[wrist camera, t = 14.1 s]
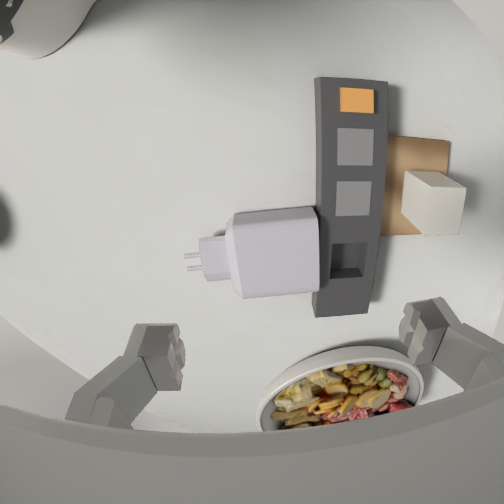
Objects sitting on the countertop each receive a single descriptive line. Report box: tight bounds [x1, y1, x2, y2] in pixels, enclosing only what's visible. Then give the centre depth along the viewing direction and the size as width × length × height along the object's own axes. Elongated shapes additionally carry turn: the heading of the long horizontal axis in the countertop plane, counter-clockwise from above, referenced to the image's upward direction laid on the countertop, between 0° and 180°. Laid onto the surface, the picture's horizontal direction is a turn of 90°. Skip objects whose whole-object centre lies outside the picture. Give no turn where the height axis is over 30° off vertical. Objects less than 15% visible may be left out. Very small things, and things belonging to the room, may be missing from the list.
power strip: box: [312, 77, 388, 318], centre depth 34 cm, size 28×7×4 cm, turn 3°
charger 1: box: [184, 207, 319, 299], centre depth 36 cm, size 5×9×15 cm
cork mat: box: [380, 135, 449, 236], centre depth 34 cm, size 12×9×1 cm
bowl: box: [256, 346, 424, 432], centre depth 49 cm, size 30×30×8 cm
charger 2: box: [401, 171, 467, 235], centre depth 30 cm, size 5×4×8 cm
